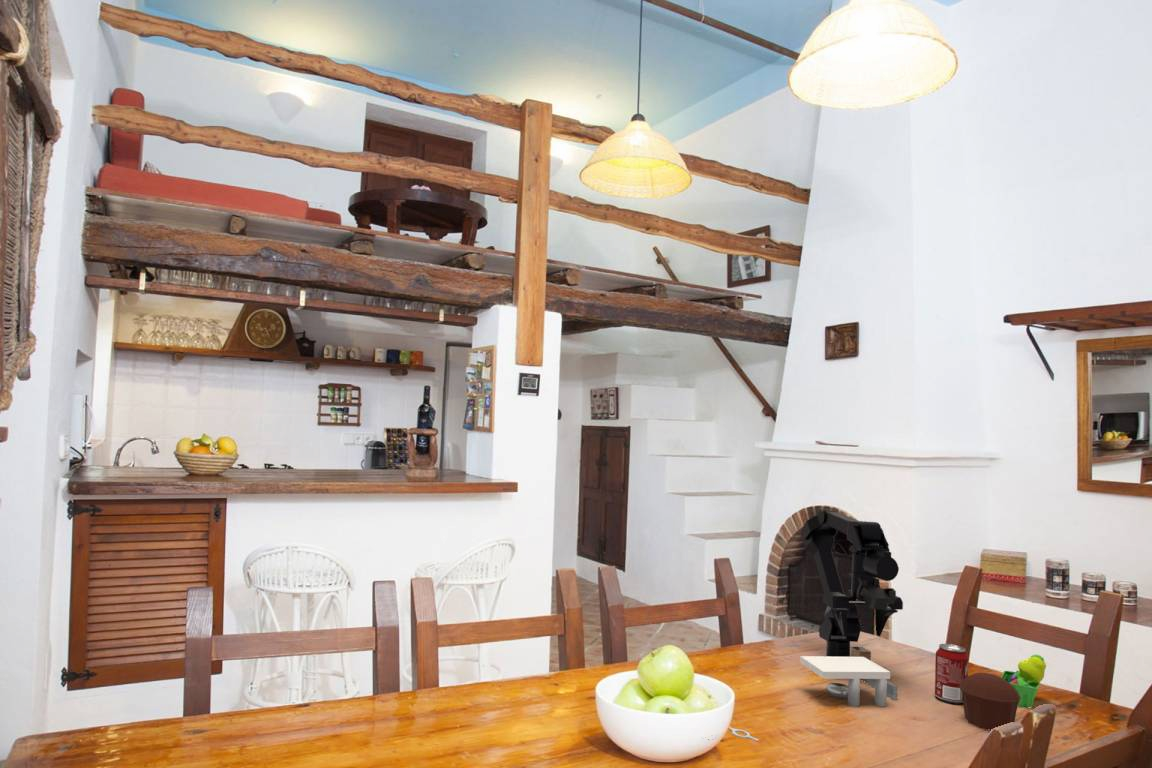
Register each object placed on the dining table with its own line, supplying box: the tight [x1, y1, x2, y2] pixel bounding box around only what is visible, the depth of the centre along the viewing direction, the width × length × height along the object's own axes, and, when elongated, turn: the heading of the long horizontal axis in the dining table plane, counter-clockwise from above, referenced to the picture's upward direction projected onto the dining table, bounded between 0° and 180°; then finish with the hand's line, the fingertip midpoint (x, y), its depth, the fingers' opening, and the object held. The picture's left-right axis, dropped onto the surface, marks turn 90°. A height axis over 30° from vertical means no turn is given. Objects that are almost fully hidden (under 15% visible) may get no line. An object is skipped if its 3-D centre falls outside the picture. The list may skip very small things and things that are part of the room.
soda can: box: [934, 643, 969, 705], centre depth 177 cm, size 7×7×12 cm
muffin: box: [959, 672, 1021, 731], centre depth 163 cm, size 12×11×10 cm
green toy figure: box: [1000, 654, 1047, 708], centre depth 179 cm, size 11×9×11 cm
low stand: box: [799, 655, 891, 708], centre depth 174 cm, size 11×16×8 cm
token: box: [826, 682, 848, 699], centre depth 176 cm, size 5×5×2 cm
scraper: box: [850, 646, 898, 701], centre depth 183 cm, size 17×3×7 cm, turn 10°
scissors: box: [728, 726, 760, 742], centre depth 154 cm, size 11×1×20 cm
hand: (861, 635), depth 189 cm, fingers open, 9 cm apart
